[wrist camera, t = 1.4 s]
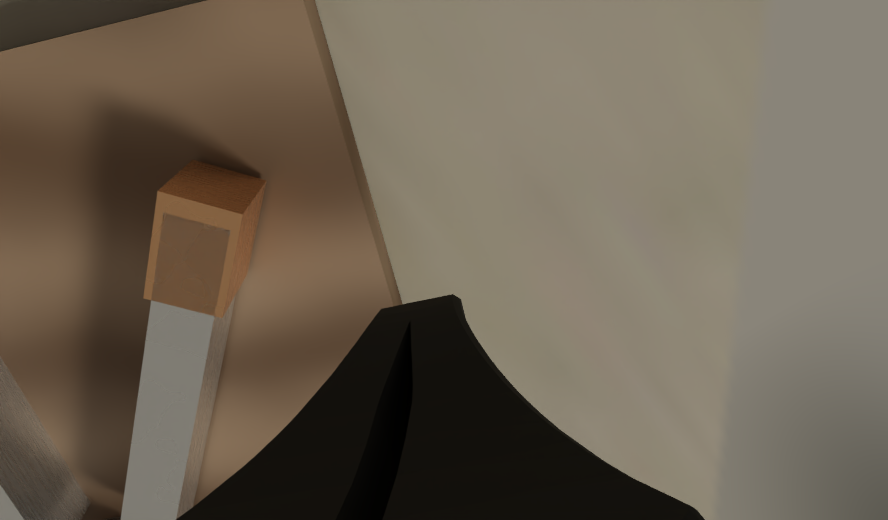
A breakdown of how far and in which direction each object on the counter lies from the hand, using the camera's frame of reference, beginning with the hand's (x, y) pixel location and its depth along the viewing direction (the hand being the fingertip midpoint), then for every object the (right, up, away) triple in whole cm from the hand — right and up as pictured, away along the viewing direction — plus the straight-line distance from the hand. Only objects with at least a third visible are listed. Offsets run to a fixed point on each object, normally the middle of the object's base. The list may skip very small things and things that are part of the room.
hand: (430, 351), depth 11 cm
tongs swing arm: (-8, -2, +10) cm, 12 cm away
